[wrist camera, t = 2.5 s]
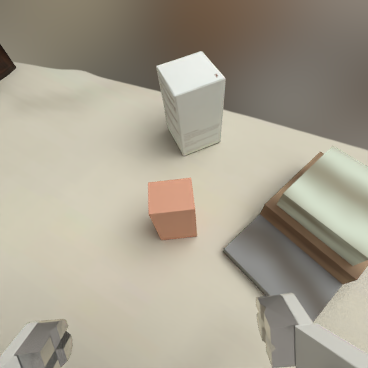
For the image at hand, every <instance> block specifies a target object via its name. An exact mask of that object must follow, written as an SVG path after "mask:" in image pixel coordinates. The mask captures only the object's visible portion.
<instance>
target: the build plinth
mask: <svg viewBox="0 0 368 368" xmlns="http://www.w3.org/2000/svg"><path fill="white" fill-rule="evenodd" d="M223 252H224V253H225V254H226V255H227V256H228V257H229V258H230V259H231V260H232V261H233V262H234V263H235V264H236V265H237V266H238V267H239V268H240V269H241V270H242V271H243V272H244V273H245V274H246V275H247V276H248V277H249V278H250V279H251V280H252V281H253V282H254V283H255V284H256V285H257V287H258V288H259V289H260V290H261V291H262V292H263V293H264V294H265V295H266V296H272V295H280V294H286V293H293V294H294V295H295V296H296V298H297V299H298V301H299V302H300V304H301V305H302V307H303V308H304V310H305V311H306V313H307V314H308V316H309V317H310V319H311V320H312V322H314V320H315V319H316V318H317V316H318V315H319V314H320V313H321V311H322V310H323V309H324V307H325V306H326V305H327V304H328V302H329V301H330V300H331V298H332V297H333V296H334V295H335V293H336V292H337V291H338V289H339V288H340V287H341V286H342V284H345V283H348V282H352V281H355V280H357V279H358V278H359V276H360V275H361V274H362V272H363V271H364V270H365V269H366V267H367V266H368V166H366V165H364V164H363V163H361V162H359V161H358V160H356V159H354V158H353V157H351V156H349V155H348V154H346V153H344V152H343V151H341V150H339V149H338V148H336V147H334V146H332V147H331V148H330V149H329V150H328V151H327V152H326V153H325V154H323V153H322V152H320V153H318V154H317V155H316V156H315V157H314V158H313V159H312V160H311V161H310V162H309V163H308V164H307V165H306V166H305V167H304V168H303V169H302V170H301V171H299V172H298V173H297V174H296V175H295V176H294V177H293V178H292V179H291V180H290V181H289V182H288V183H287V184H286V185H285V186H284V187H283V188H282V189H280V190H279V191H278V192H277V193H276V194H275V195H274V196H273V197H272V198H271V199H270V200H269V201H268V202H267V203H266V204H265V205H264V207H263V209H262V211H261V213H260V214H259V215H258V216H257V217H256V218H255V219H254V220H253V221H252V222H251V223H250V224H249V225H248V226H247V227H246V228H245V229H244V230H243V231H242V232H241V233H240V234H239V235H238V236H236V237H235V238H234V239H233V240H232V241H231V242H230V243H229V244H228V245H227V246H226V247H225V248H224V251H223Z"/></svg>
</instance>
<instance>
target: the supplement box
mask: <svg viewBox="0 0 368 368" xmlns="http://www.w3.org/2000/svg"><path fill="white" fill-rule="evenodd" d="M156 67H157V72H158V78H159V83H160V88H161V93H162V98H163V104H164V109H165V115H166V120H167V126H168V129H169V131H170V133H171V134H172V136H173V138H174V140H175V142H176V143H177V145H178V147H179V149H180V151H181V153H182V154H183V156H185V155H188V154H190V153H193V152H195V151H198V150H200V149H203V148H206V147H208V146H211V145H213V144H216V143H218V142H220V140H221V128H222V115H223V103H224V91H225V77H224V76H223V75H222V74H221V73H220V72H219V71H218V69H217V68H216V67H215V66H214V65H213V64H212V62H211V61H210V60H209V59H208V58H207V57H206V56H205V54H204V53H203V52H198V53H195V54H192V55H189V56H186V57H183V58H180V59H177V60H174V61H171V62H167V63H164V64H161V65H158V66H156Z"/></svg>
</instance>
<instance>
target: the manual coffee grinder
mask: <svg viewBox="0 0 368 368" xmlns="http://www.w3.org/2000/svg"><path fill="white" fill-rule="evenodd" d="M15 68H16V66H15V65H14V64H13V62H12V61H11V59H10V58H9V56H8V55H7V53H6V52H5V50H4V49H3V47H2V46H1V45H0V80H1V79H3V78H4V77H6V76H7V75H8V74H10V73H11V72H12V71H13V70H14V69H15Z"/></svg>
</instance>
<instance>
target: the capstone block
mask: <svg viewBox="0 0 368 368" xmlns="http://www.w3.org/2000/svg"><path fill="white" fill-rule="evenodd" d="M148 206H149V216H150V218H151V220H152V222H153V224H154V226H155V228H156V230H157V232H158V235H159V237H160V239H161V240H169V239H177V238H186V237H195V236H197V230H196V216H195V205H194V197H193V189H192V181H191V178H184V179H176V180H167V181H158V182H149V183H148Z"/></svg>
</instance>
